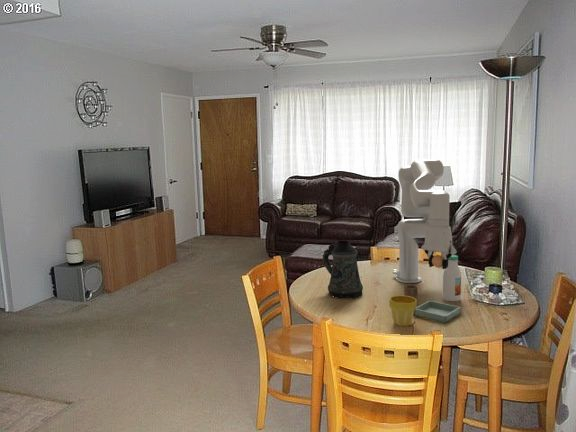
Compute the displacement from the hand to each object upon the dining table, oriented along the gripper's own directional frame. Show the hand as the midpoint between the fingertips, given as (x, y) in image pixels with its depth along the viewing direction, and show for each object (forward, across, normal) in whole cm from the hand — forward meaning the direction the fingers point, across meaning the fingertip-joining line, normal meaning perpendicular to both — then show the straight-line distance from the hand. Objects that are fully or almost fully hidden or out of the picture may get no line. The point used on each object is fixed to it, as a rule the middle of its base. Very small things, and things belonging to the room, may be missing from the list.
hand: (438, 267), depth 194 cm
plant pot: (+20, -6, -17) cm, 27 cm away
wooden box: (+20, -16, +7) cm, 27 cm away
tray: (+20, 0, 0) cm, 20 cm away
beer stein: (+20, -47, -2) cm, 51 cm away
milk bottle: (+20, -4, +22) cm, 30 cm away
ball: (-2, 0, 0) cm, 2 cm away
